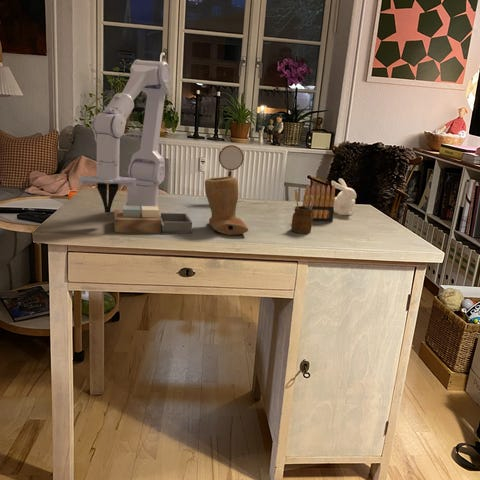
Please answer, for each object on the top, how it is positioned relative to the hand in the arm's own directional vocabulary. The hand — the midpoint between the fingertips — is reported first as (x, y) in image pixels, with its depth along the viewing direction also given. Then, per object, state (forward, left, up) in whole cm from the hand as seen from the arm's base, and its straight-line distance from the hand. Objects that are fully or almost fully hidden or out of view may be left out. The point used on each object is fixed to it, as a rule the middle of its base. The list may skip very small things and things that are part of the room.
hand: (107, 211), depth 135 cm
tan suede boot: (+32, 0, -4) cm, 32 cm away
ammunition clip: (+65, +11, -4) cm, 66 cm away
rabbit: (+80, +23, -4) cm, 84 cm away
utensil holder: (+55, -1, -4) cm, 55 cm away
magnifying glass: (+41, +35, -4) cm, 54 cm away
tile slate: (+6, 0, -1) cm, 6 cm away
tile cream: (+11, 0, -1) cm, 11 cm away
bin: (+18, 0, -4) cm, 19 cm away
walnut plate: (+8, 0, -4) cm, 9 cm away
